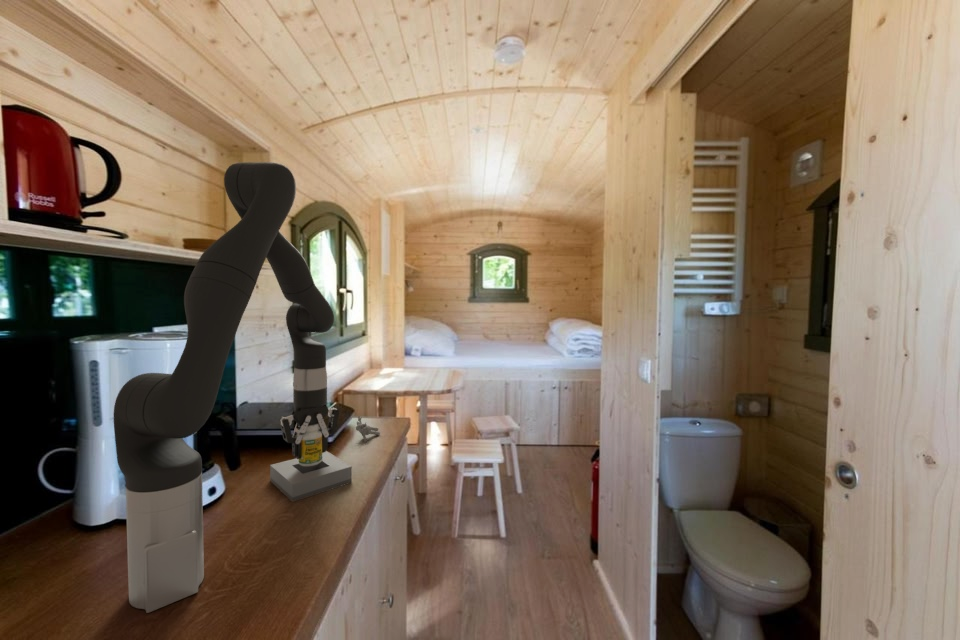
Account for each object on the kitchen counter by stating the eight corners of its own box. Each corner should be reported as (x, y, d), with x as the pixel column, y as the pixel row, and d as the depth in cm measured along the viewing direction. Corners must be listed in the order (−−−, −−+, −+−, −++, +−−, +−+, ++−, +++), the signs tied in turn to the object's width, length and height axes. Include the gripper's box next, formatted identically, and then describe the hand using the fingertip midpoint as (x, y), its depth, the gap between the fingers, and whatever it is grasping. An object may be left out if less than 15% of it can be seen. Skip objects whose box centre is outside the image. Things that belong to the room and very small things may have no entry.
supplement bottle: (317, 456, 104) (316, 419, 103) (325, 462, 100) (325, 424, 99) (295, 462, 100) (294, 423, 99) (303, 469, 96) (303, 428, 95)
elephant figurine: (388, 439, 131) (365, 436, 125) (376, 450, 133) (353, 447, 126) (379, 414, 138) (358, 409, 131) (368, 424, 139) (346, 421, 132)
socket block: (351, 482, 100) (351, 466, 100) (292, 501, 90) (292, 484, 90) (325, 465, 110) (325, 450, 110) (270, 481, 100) (270, 465, 100)
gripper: (285, 392, 91) (285, 467, 92) (345, 384, 101) (345, 451, 102) (273, 387, 96) (273, 458, 97) (331, 379, 106) (331, 443, 107)
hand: (310, 454), depth 100 cm, fingers closed on supplement bottle, 5 cm apart
